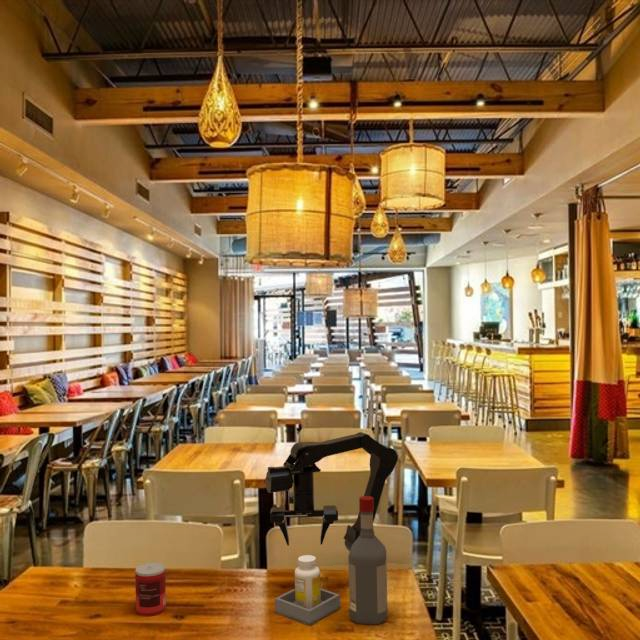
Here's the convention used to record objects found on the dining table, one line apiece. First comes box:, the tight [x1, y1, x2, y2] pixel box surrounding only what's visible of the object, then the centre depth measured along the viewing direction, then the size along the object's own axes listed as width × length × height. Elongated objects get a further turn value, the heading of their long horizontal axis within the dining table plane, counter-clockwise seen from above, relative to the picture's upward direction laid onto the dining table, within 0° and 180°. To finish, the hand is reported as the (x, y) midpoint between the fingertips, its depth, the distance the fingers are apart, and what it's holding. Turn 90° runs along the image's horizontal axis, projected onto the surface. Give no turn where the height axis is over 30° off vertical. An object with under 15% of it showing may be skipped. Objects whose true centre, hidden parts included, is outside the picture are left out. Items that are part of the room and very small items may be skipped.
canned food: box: [134, 562, 167, 617], centre depth 166 cm, size 8×8×11 cm
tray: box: [274, 588, 341, 626], centre depth 164 cm, size 12×12×4 cm
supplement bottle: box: [294, 554, 322, 609], centre depth 164 cm, size 7×7×13 cm
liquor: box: [347, 495, 389, 626], centre depth 160 cm, size 9×9×30 cm
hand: (304, 544), depth 175 cm, fingers open, 9 cm apart
